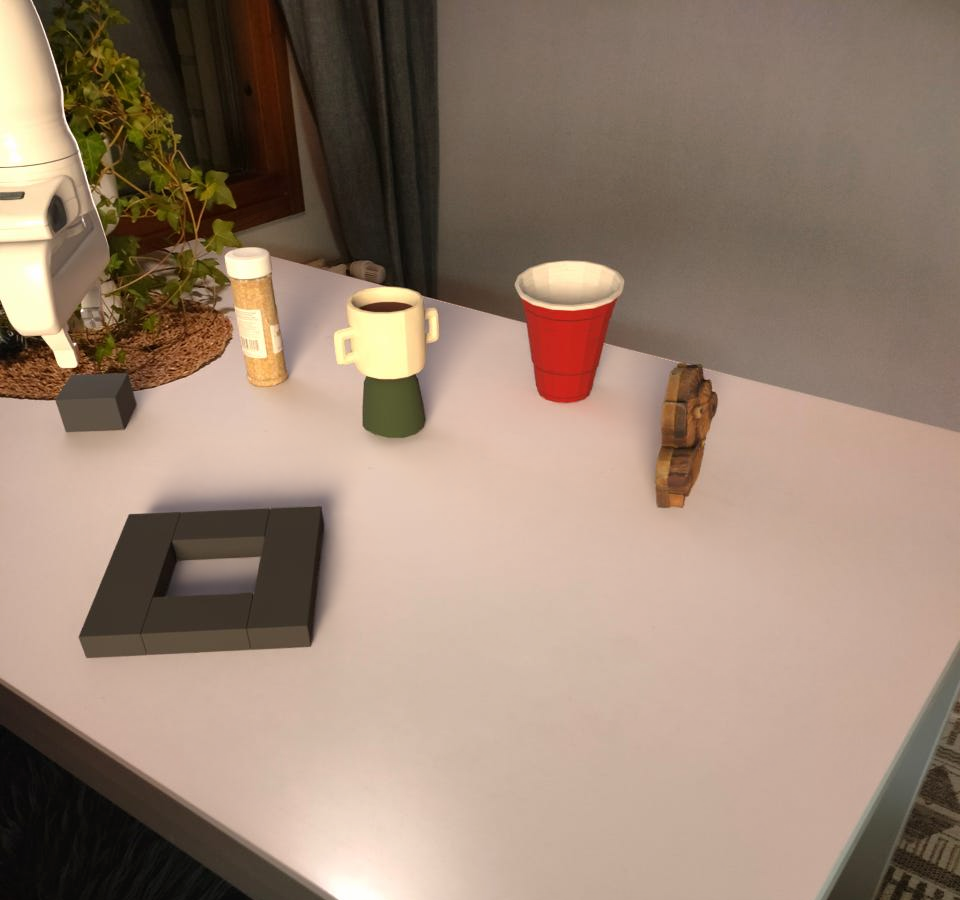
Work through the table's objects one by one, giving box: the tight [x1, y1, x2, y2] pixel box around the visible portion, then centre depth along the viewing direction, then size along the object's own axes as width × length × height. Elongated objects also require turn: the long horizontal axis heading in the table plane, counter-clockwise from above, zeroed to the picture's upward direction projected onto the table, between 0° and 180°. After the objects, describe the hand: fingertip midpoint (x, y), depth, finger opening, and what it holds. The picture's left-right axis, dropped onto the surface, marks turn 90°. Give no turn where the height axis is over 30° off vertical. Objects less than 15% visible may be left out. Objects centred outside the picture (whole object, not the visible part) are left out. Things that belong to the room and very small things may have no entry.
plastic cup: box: [514, 259, 626, 404], centre depth 94 cm, size 11×11×12 cm
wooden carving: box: [654, 362, 719, 509], centre depth 81 cm, size 16×5×10 cm, turn 167°
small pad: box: [55, 372, 137, 433], centre depth 93 cm, size 6×6×4 cm
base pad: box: [78, 505, 325, 659], centre depth 71 cm, size 16×16×2 cm
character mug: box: [333, 286, 440, 439], centre depth 87 cm, size 11×7×13 cm, turn 123°
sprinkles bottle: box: [224, 246, 289, 387], centre depth 96 cm, size 5×5×14 cm
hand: (84, 344), depth 89 cm, fingers open, 8 cm apart
